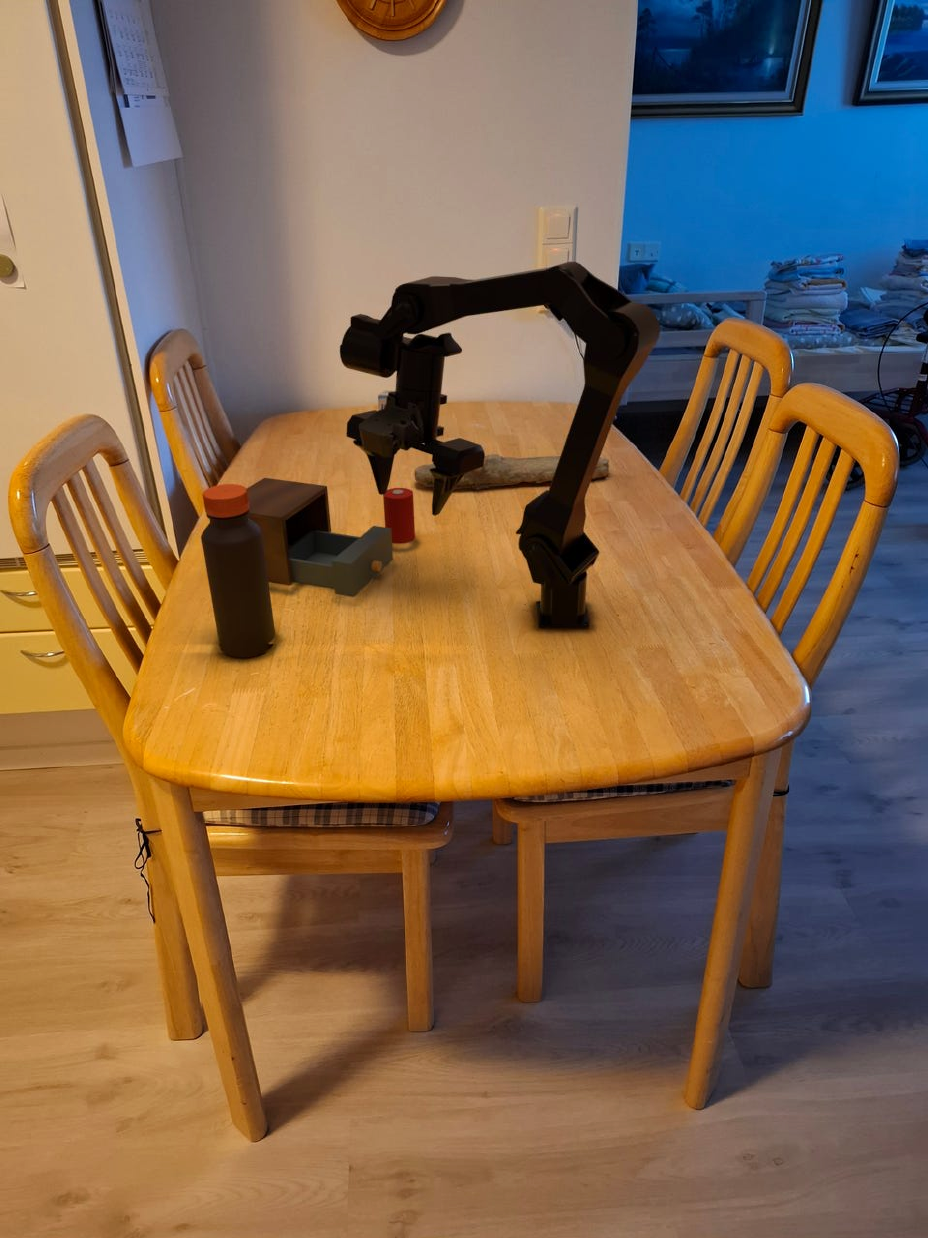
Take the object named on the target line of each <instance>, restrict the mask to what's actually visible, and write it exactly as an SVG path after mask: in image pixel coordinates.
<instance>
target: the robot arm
mask: <svg viewBox="0 0 928 1238" xmlns="http://www.w3.org/2000/svg"><path fill="white" fill-rule="evenodd" d="M549 305H551V306H552V307H554V309H556V310H557V311H558V312H559V314H560V315H561V317H562V319H563V320H564V322H565V323H566V325H567V326H568V327H569V329H570V331H571V332H572V333H573V335H576V336H577V337H578V338H579V339H580V340H581V341H582V342H584V343H585V348H584V353H583V359H582V360H583V361H582V365H583V376H584V377H583V378H584V385H583V389H582V392H581V395H580V398H579V401H578V403H577V407H576V410H575V412H574V415H573V418H572V421H571V423H570V427H569V430H568V432H567V433H568V434H567V437H566V439H565V442H564V445H563V446H562V447H563V448H562V450H561V454H560V455H559V456H560V459H559V462H558V465H557V468H556V471H555V473H554V476H553V479H552V481H550V485H549V489H546V490H545V491H543V492H542V493H540V494H539V495H538V496H537V497H535V498H533V500H531V501H530V502H528V503H527V504H526V505H525V507H524V509H523V516H522V521H521V524H520V526H519V528H518V529H517V530H516V531H515V534H516V535H519V537H518V550H519V551H520V552H521V554H522V556H523V558H524V559H525V561H526V565H527V567H528V570H529V573H530V577H531V581H532V583H534V584H536V585H537V584H539V585H540V600H537V601H536V602H535V609H536V610H535V611H536V619H537V621H536V622H537V627H538V628H540V629H589V628H590V627H591V621H590V617H589V612H588V607H587V603H586V601H587V599H586V598H587V582H588V572H587V571H588V570H589V568H591V567H593V566H594V565H595V563H596V561H597V560H598V557H599V556H600V549H598V547H597V546H596V545H595V544H594V542H593V541H592V540H591V539H590V538H589V536H588V535H587V534H586V532H585V531H584V529H585V524H586V518H587V512H586V503H585V500H586V495H587V492H588V490H589V487H590V484H591V481H592V480H593V478H592V477H593V474H594V471H595V469H596V466H597V463H598V461H599V458H600V457H601V455H602V453H603V450H604V448H605V445H606V442H607V440H608V437H609V434H610V431H611V428H612V426H613V423H614V420H615V418H616V416H617V412H618V409H619V407H620V404H621V402H622V399H623V396H624V394H625V392H626V390H627V389H628V387H629V386H630V385H631V383H632V382H633V380H634V379H635V378H636V377H637V375H638V373H639V372H640V371H641V369H642V368H643V367H644V365H645V363H646V361H647V360H648V358H649V357H650V354H651V353H652V351H653V350H654V348H655V346H656V345H657V343H658V341H659V338H660V333H661V324H660V322H659V320H658V318H657V315H656V314H655V313H654V311H653V310H652V309H651V308H650V307H649V306H647V305H646V304H644V303H641V302H636V301H633V300H631V298H629V297H628V296H627V295H626V294H624V293H623V292H622V291H621V290H619V289H617V288H616V287H614V286H612V285H611V284H609V283H607V282H605V281H603V280H602V279H599V278H598V277H597V276H595V275H594V274H593V273H592V272H590V271H589V270H588V269H587V268H586V267H584V266H583V265H582V264H581V263H579V262H576V261H567V262H563V263H560V264H557V265H553V266H549V267H544V268H537V269H531V270H525V271H519V272H514V273H512V272H511V273H507V274H501V275H494V276H489V277H484V278H478V279H466V278H461V277H457V276H439V275H436V276H435V275H434V276H433V275H432V276H428V277H424V278H420V279H416V280H413V281H412V280H411V281H409V282H406V283H405V282H404V283H402V284H400V285H398V286H397V287H396V288H395V289H394V292H393V295H392V297H391V303H390V307H389V308H388V309H387V311H386V312H385V313H384V315H383V316H382V317H381V319H379V318H378V319H377V318H374V317H371V316H370V315H366V314H362V313H359V314H358V313H357V314H355V315H352V316H351V317H350V319H349V321H350V322H349V323H350V325H349V327H348V328H347V329H346V331H345V333H344V334H343V337H342V340H341V344H340V345H339V357H340V360H341V363H342V364H343V366H344V367H345V368H346V369H348V370H352V371H356V372H360V373H363V374H368V375H371V376H375V377H380V378H383V379H388V378H390V377H392V376H393V375H394V374H395V373H396V377H395V389H394V390H392V391H393V392H388V396H387V399H386V405H385V408H384V409H382V410H379V409H378V410H376V409H373V410H369V411H365V412H360V413H354V414H352V415H350V417H349V419H348V421H347V422H346V431H345V432H346V433H345V434H346V435H345V436H346V438H349V439H352V442H353V444H354V445H355V446H356V447H358V448H359V449H360V450H361V451H362V452H364V454H365V455H366V457H367V459H368V462H369V464H370V465H369V466H370V468H371V471H372V475H373V478H374V482H375V485H376V490H377V492H378V493H377V494H379V495H380V496H383V494H386V492H387V490H388V488H389V485H390V482H391V481H390V480H391V476H392V470H393V467H394V460H395V456H396V455H397V453H398V451H399V450H403V451H406V452H407V451H409V450H410V449H414V450H416V451H420V452H422V453H426V454H429V455H431V462H432V464H434V465H435V468H431V469H430V472H431V473H432V475H433V477H434V487H433V491H432V501H431V515H432V516H434V517H435V516H438V515H440V513H441V512H442V510H443V509H444V507H445V505H446V504H447V502H448V500H449V499H450V498H451V496H452V494H453V492H454V490H456V489H455V487H456V486H457V484H458V483H459V481H460V480H461V479H462V477H463V476H464V475H465V473H468V472H471V471H474V470H475V469H478V468H481V467H483V466H484V458H485V456H486V453H485V449H484V448H483V446H482V445H481V444H479V443H476V442H473V441H470V440H468V439H464V438H461V437H458V438H454V439H451V440H447V441H441V440H438V438H439V437H443V436H444V431H445V427H444V426H440V425H439V421H440V420H439V419H440V411H441V405H447V404H448V403H447V402H448V395H447V394H443V393H442V390H443V378H444V371H445V370H444V369H445V359H446V358H448V357H452V356H456V355H460V354H462V353H463V348H462V347H461V346H460V344H459V343H458V342H457V341H456V340H455V339H454V337H453V335H452V333H451V332H444V333H440V334H439V335H437V336H434V335H430V334H425V332H427V331H431V330H433V329H436V328H439V327H442V326H445V325H448V324H450V323H453V322H455V321H458V320H461V319H464V318H466V317H471V316H479V315H484V314H492V313H493V314H494V313H497V312H498V313H499V312H506V311H513V310H520V309H527V308H534V307H541V306H549ZM405 334H408V335H414V336H413V337H412V338H411V337H406V336H404V335H405Z"/></svg>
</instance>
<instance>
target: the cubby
mask: <svg viewBox="0 0 928 1238" xmlns="http://www.w3.org/2000/svg"><path fill="white" fill-rule="evenodd" d="M246 488H247V492H248V500H249V506H250V507H249V510H250V511H249V514H248V518H249V519H250V520H252V521H253V522H254V523H256V524H257V525H258V526H259V528H260V529H261V532H262V539H263V547H264V554H265V561H266V569H267V576H268V583H273V584H278V585H285V586H292V584H294V582H293V581H292V572H291V564H290V556H289V547H290V546H291V545H293V544H294V543H295V542H297V541H298V540H299V539H301V538H302V537H303V536H305V535H306V534H307V533H309V532H310V531H313V532H314V531H315V530H318V531H324V532H331V533H332V526H331V524H332V523H331V512H330V504H329V503H330V501H329V493H328V486H327V485H323V484H315V483H309V482H308V483H307V482H301V481H300V482H298V481H292V480H284V479H277V478H271V477H270V478H269V477H263V478H262V479H260V480H258V481H256V482H255V483H254V484H251V485H250V486H248V487H246ZM314 542H315V539H314ZM315 551H316V548H315Z"/></svg>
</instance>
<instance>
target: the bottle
mask: <svg viewBox="0 0 928 1238" xmlns="http://www.w3.org/2000/svg"><path fill="white" fill-rule="evenodd" d="M247 488H248V487H245V486H244V485H241V484H235V483H225V484H224V483H223V484H218V485H213V486H211V487H208V488H206V489H205V490H204V491H203V492H202V501H203V506H204V507H203V508H204V512H205V516H206V518H207V519H208V520H209V523H208V524H207V525H206V527H205V528H204V530H203V531H202V533H201V536H200V541H201V545H202V552H203V557H204V558H203V559H204V564H205V570H206V576H207V581H208V586H209V593H210V599H211V604H212V610H213V616H214V622H215V627H216V633H217V639H218V640H217V641H218V642H219V648H220V650H221V652H223V653H224V654H225V655H227V656H229V657H232V658H238V659H239V658H240V659H243V658H244V659H245V658H253V657H258V656H261V655H263V654H265V653H266V652H269V651H270V650H271V649H272V648H273V646H275V643H271V642H273V640H274V639H275V637H276V628H275V621H274V614H273V607H272V598H271V591H270V585H269V583H270V582H268V576H267V569H266V561H265V554H264V547H263V539H262V532H261V529H260V528H259V526H258V525H257V524H256V523H254V522H253V521H252V520H250V519H249V518H248V514H249V511H250V510H249V507H250V506H249V500H248V492H247Z"/></svg>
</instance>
